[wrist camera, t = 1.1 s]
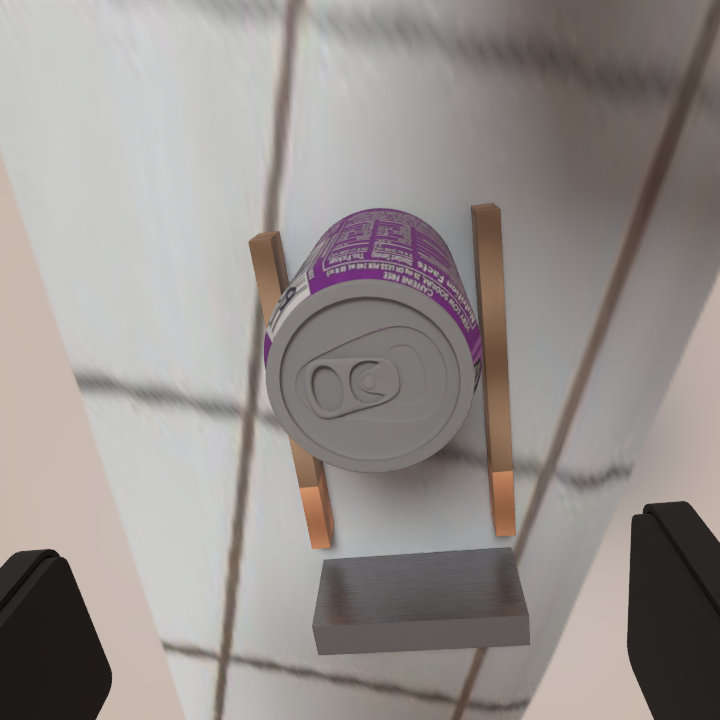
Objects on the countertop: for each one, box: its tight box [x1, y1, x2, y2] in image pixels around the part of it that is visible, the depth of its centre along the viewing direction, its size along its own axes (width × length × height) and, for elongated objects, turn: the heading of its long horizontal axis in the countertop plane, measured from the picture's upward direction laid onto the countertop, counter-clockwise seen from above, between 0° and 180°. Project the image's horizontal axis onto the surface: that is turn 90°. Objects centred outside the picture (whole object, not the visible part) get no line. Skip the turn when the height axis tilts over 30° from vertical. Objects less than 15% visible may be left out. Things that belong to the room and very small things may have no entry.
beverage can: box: [264, 208, 482, 473], centre depth 23 cm, size 7×7×12 cm
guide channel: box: [249, 203, 530, 655], centre depth 29 cm, size 22×11×5 cm, turn 8°
